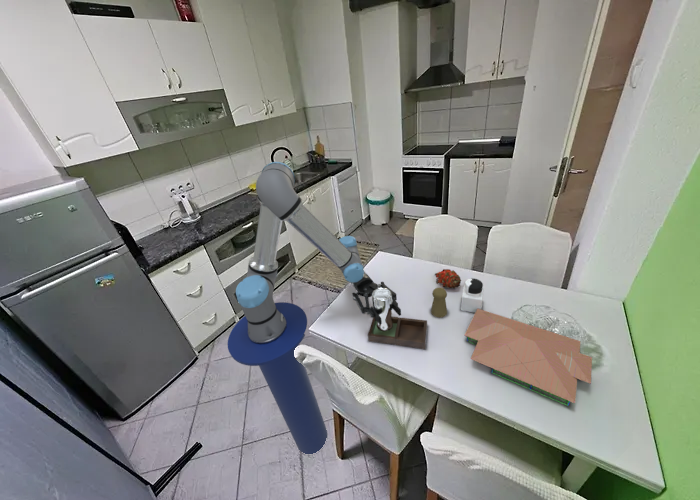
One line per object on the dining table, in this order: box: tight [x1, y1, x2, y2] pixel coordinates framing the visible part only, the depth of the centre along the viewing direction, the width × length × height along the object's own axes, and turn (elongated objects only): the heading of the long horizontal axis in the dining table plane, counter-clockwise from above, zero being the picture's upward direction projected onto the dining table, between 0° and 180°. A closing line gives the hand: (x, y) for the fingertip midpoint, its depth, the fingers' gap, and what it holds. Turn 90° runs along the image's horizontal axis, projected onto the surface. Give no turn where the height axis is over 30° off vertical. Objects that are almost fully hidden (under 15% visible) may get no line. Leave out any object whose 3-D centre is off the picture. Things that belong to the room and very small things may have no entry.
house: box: [464, 308, 593, 407], centre depth 85 cm, size 23×33×8 cm
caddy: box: [367, 316, 428, 350], centre depth 101 cm, size 20×10×3 cm, turn 73°
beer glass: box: [371, 288, 394, 331], centre depth 97 cm, size 7×7×15 cm
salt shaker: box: [430, 286, 448, 319], centre depth 105 cm, size 6×6×11 cm
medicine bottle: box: [460, 277, 485, 314], centre depth 105 cm, size 7×7×12 cm
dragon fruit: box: [434, 268, 462, 289], centre depth 119 cm, size 8×8×12 cm
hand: (390, 316), depth 93 cm, fingers closed on beer glass, 7 cm apart
